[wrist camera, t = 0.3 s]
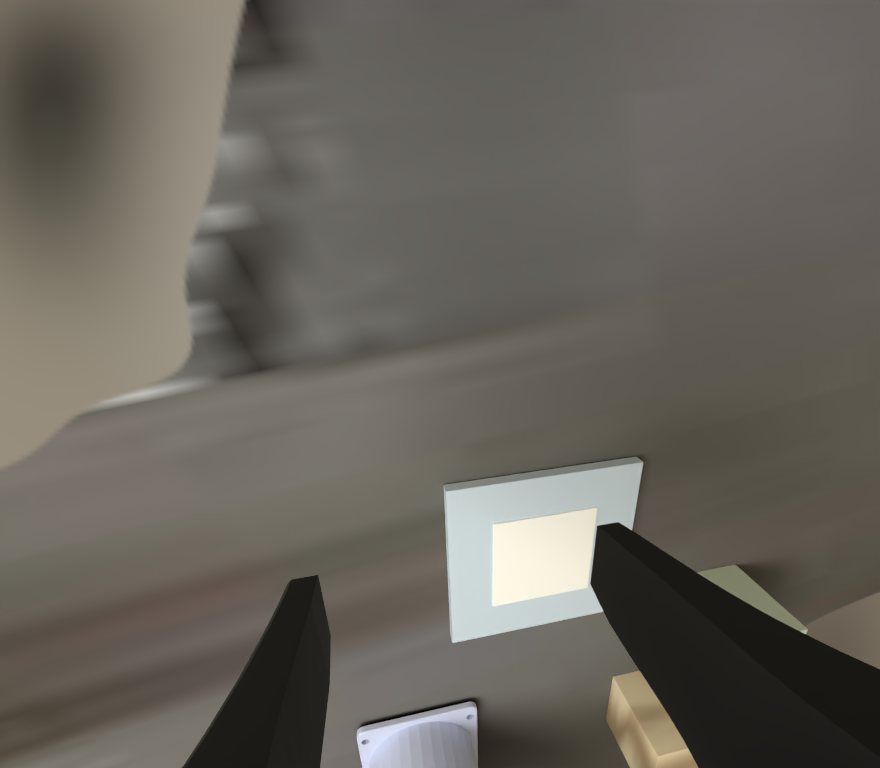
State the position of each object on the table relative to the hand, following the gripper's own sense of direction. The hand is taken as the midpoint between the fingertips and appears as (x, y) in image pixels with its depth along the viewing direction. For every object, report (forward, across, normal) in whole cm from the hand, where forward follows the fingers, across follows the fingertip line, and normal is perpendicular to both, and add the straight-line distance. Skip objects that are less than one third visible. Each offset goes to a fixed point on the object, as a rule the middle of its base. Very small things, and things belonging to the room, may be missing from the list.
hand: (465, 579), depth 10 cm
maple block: (+10, -16, +26) cm, 32 cm away
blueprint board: (+10, -7, +10) cm, 15 cm away
